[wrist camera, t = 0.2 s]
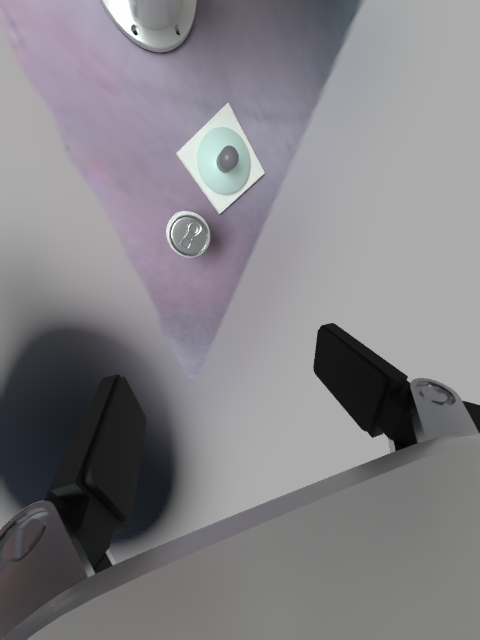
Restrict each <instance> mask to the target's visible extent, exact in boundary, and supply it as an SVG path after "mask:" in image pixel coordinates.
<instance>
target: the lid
mask: <svg viewBox="0 0 480 640" xmlns="http://www.w3.org/2000/svg"><path fill="white" fill-rule="evenodd" d="M197 165H198V170H199V173H200V176H201V178H202V180H203V181H204V183H205V184H206V185H207V186H208V187H209V188H210V189H211V190H213V191H214V192H216V193H219V194H231V193H233V192H236V191H237V190H239V189H240V188H241V187H242V186H243V185H244V183H245V181H246V180H247V177H248V174H249V170H250V157H249V152H248V149H247V146H246V144H245V142H244V141H243V139H242V138H241V137H240V135H239V134H238V133H236V132H235V131H233V130H232V129H229V128H226V127H217V128H214V129H212V130H210V131H209V132H208V133H207V134H206V135H205V136H204V137H203V139H202V141H201V143H200V145H199V148H198V153H197Z"/></svg>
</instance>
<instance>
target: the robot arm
mask: <svg viewBox="0 0 480 640" xmlns="http://www.w3.org/2000/svg"><path fill="white" fill-rule="evenodd" d="M101 2H102V4H103V6H104V8H105V10H106V11H107V13H108V14H109V16H110V17H111V19H112V20H113V22H114V23H115V24H116V25H117V27H118V28H119V29H120V30H121V31H122V33H124V34H125V35H126V36H127V37H128V38H129V39H130V40H131V41H132V42H134V43H136V44H137V45H139V46H140V47H142V48H144V49H147V50H149V51H153V52H167V51H171V50H173V49H175V48H177V47H178V46H179V45H180V44H181V43H182V42H184V40H185V39H186V37H187V36H188V34H189V32H190V30H191V27H192V25H193V22H194V17H195V12H196V4H197V0H101ZM135 32H136V33H137V34H138V35H134V33H135ZM177 32H178V33H179V34H180V35H177V34H176V33H177ZM314 372H315V374H316V375H317V377H318V378H319V379H320V380H321V381H322V383H323V384H324V385H325V386H326V387H327V388H328V390H329V391H330V392H331V393H332V394H333V396H334V397H335V398H336V399H337V400H338V401H339V403H340V404H341V405H342V406H343V408H344V409H345V410H346V411H347V412H348V413H349V415H350V416H351V417H352V418H353V419H354V421H355V422H356V423H357V424H358V425H359V426H360V428H361V429H362V430H364V431H367V432H368V433H369V435H370V436H371V437H372V438H373V437H376V436H378V435H381V434H383V433H384V434H385V435H386V436H387V437H388V440H389V446H390V454H387V455H385V456H382V457H380V458H377V459H375V460H372V461H369V462H367V463H365V464H362V465H359V466H357V467H354V468H352V469H349V470H346V471H344V472H341V473H339V474H337V475H334V476H331V477H329V478H326V479H324V480H321V481H319V482H316V483H314V484H311V485H308V486H306V487H304V488H301V489H298V490H296V491H293V492H291V493H288V494H286V495H283V496H281V497H279V498H276V499H273V500H271V501H268V502H266V503H263V504H261V505H258V506H256V507H253V508H251V509H249V510H246V511H244V512H241V513H238V514H236V515H233V516H231V517H229V518H226V519H223V520H221V521H219V522H216V523H214V524H211V525H209V526H206V527H204V528H201V529H199V530H196V531H194V532H192V533H189V534H187V535H184V536H182V537H179V538H176V539H174V540H172V541H169V542H167V543H165V544H163V545H160V546H158V547H155V548H153V549H150V550H148V551H146V552H143V553H141V554H139V555H136V556H134V557H132V558H129V559H127V560H125V561H122V562H120V563H118V564H116V562H115V560H114V559H113V557H112V555H111V554H110V552H109V550H108V548H109V547H110V542H111V538H112V535H114V534H116V533H119V532H122V531H124V530H125V528H126V521H127V519H128V518H130V517H131V514H132V511H133V506H134V499H135V493H136V486H137V479H138V472H139V466H140V460H141V453H142V446H143V439H144V433H145V427H146V418H145V415H144V413H143V411H142V409H141V407H140V405H139V403H138V401H137V399H136V397H135V395H134V393H133V391H132V389H131V387H130V386H129V384H128V382H127V380H126V378H125V377H121V376H120V375H114V376H109V377H105V378H103V379H102V380H101V382H100V384H99V386H98V388H97V391H96V393H95V395H94V397H93V400H92V402H91V404H90V406H89V408H88V411H87V413H86V415H85V417H83V419H82V420H81V422H80V424H79V426H78V428H77V430H76V432H75V435H74V437H73V439H72V441H71V443H70V445H69V447H68V450H67V452H66V454H65V456H64V458H63V460H62V463H61V465H60V467H59V469H58V471H57V473H56V475H55V477H54V480H53V482H52V484H51V486H50V488H49V491H48V493H47V495H46V497H45V499H44V501H40V502H36V503H34V504H32V505H30V506H28V507H26V508H24V509H23V510H22V511H20V512H19V513H17V514H16V515H15V516H14V517H13V518H12V519H10V520H9V521H8V522H7V523H6V524H5V525H4V526H3V527H2V529H1V530H0V640H480V405H476V404H473V403H469V402H465V401H462V400H461V398H460V397H459V396H458V394H457V393H456V392H455V391H453V390H452V389H451V388H449V387H448V386H446V385H444V384H442V383H440V382H437V381H435V380H431V379H426V378H418V379H414V380H413V381H412V382H411V383H409V382H408V381H407V377H408V376H406V375H405V374H404V373H402V372H401V371H399V370H398V369H396V368H395V367H394V366H392V365H391V364H390V363H388V362H387V361H386V360H384V359H383V358H381V357H380V356H379V355H377V354H376V353H374V352H373V351H371V350H370V349H369V348H367V347H366V346H365V345H363V344H362V343H360V342H359V341H358V340H356V339H355V338H353V337H352V336H351V335H349V334H348V333H347V332H345V331H344V330H343V329H341V328H340V327H338V326H337V325H336V324H334V323H330V324H326V325H322V326H321V327H320V329H319V330H318V334H317V342H316V351H315V359H314Z"/></svg>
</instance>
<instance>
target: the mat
mask: <svg viewBox="0 0 480 640" xmlns="http://www.w3.org/2000/svg"><path fill="white" fill-rule="evenodd" d="M217 127H226V128H229V129H232V130H233V131H235V132H236V133H238V134H239V135H240V137H241V138H242V139H243V141H244V142H245V144H246V146H247V149H248V152H249V157H250V170H249V174H248V177H247V180H246V181H245V183H244V185H243V186H242V187H241V188H240V189H239V190H237V191H236V192H233V193H231V194H219V193H216V192H214V191H213V190H211V189H210V188H209V187H208V186H207V185H206V184H205V183H204V181H203V180H202V178H201V176H200V173H199V170H198V165H197V153H198V148H199V145H200V143H201V141H202V139H203V137H204V136H205V135H206V134H207V133H208V132H209V131H210V130H212V129H214V128H217ZM176 155H177V156H178V158H179V159H180V160H181V162H182V163H183V165H184V166H185V167H186V169H187V170H188V172H189V173H190V174H191V176H192V177H193V179H194V180H195V181H196V183H197V184H198V186H199V187H200V188H201V190H202V191H203V193H204V194H205V195H206V197H207V198H208V200H209V201H210V202H211V204H212V205H213V207H214V208H215V209H216V211H217V212H218V214H220V213H221V212H223V211H224V210H225V209H226V208H227V207H228V206H229V205H230V204H231V203H232V202H234V201H235V200H236V199H237V198H238V197H239V196H240V195H241V194H242V193H243V192H245V191H246V190H247V189H248V188H249V187H250V186H251V185H252V184H253V183H254V182H256V181H257V180H258V179H259V178H260V177H261V176H262V175H263V174H264V173H265V172H264V170H263V168H262V167H261V165H260V163H259V161H258V159H257V157H256V155H255V153H254V151H253V149H252V147H251V145H250V144H249V142H248V140H247V138H246V136H245V134H244V132H243V130H242V128H241V126H240V124H239V122H238V121H237V119H236V117H235V115H234V113H233V111H232V109H231V107H230V105H229V103H227V104H226V105H225V106H224V107H223V108H222V109H221V110H220V111H219V112H218V113H217V114H216V115H215V116H214V117H213V118H212V119H211V120H210V121H209V122H208V123H207V124H206V125H205V126H204V127H203V128H202V129H201V130H200V131H199V132H198V133H197V134H195V135H194V136H193V137H192V138H191V139H190V140H189V141H188V142H187V143H186V144H185V145H184V146H183V147H182V148H181V149H180V150H179V151H178V152H177V153H176Z"/></svg>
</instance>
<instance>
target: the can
mask: <svg viewBox="0 0 480 640" xmlns="http://www.w3.org/2000/svg"><path fill="white" fill-rule="evenodd" d="M166 234H167V239H168V242H169V244H170V246H171V247H172V249H173V250H174V251H175V252H177V253H178V254H180V255H182V256H184V257H196V256H199V255H201V254H202V253H203V252H205V250H206V249H207V248H208V246H209V243H210V230H209V227H208V225H207V223H206V222H205V220H204V219H203V218H202V217H201V216H199V215H198V214H196V213H194V212H191V211H180V212H178V213H176V214H175V215H173V216H172V218H171V219H170V220H169V222H168V225H167V230H166Z"/></svg>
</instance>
